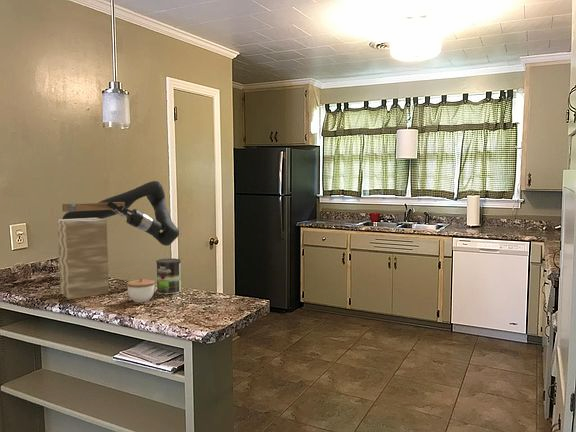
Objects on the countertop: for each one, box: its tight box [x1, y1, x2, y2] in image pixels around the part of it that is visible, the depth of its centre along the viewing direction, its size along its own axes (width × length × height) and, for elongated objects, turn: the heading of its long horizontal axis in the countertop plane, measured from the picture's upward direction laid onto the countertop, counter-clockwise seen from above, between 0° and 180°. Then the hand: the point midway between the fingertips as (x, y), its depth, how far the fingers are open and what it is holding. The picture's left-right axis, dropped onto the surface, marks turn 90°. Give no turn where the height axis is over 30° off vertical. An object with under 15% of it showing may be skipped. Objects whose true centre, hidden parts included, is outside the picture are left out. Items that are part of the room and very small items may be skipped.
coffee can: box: [155, 257, 182, 296], centre depth 204 cm, size 10×10×14 cm
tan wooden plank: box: [62, 202, 125, 213], centre depth 204 cm, size 5×25×3 cm, turn 129°
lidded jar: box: [126, 277, 156, 304], centre depth 190 cm, size 11×11×9 cm
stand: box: [57, 218, 110, 300], centre depth 202 cm, size 14×16×32 cm
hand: (106, 203), depth 207 cm, fingers closed on tan wooden plank, 4 cm apart
